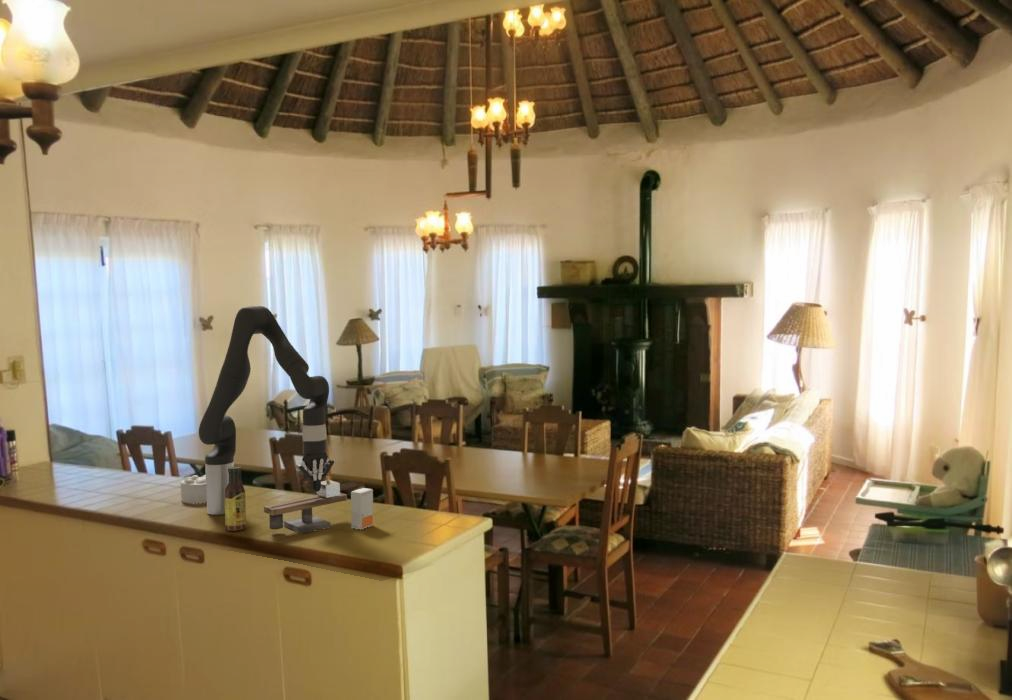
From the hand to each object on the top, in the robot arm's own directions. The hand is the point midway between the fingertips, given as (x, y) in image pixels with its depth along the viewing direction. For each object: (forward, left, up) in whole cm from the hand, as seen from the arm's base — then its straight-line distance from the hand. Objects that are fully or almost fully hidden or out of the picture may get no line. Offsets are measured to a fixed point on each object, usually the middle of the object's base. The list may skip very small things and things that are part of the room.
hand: (316, 491), depth 245 cm
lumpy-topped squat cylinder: (-61, -15, -11) cm, 63 cm away
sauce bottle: (-14, -21, -11) cm, 28 cm away
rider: (0, +4, -4) cm, 6 cm away
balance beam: (0, -3, -11) cm, 12 cm away
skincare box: (+13, +9, -11) cm, 19 cm away
